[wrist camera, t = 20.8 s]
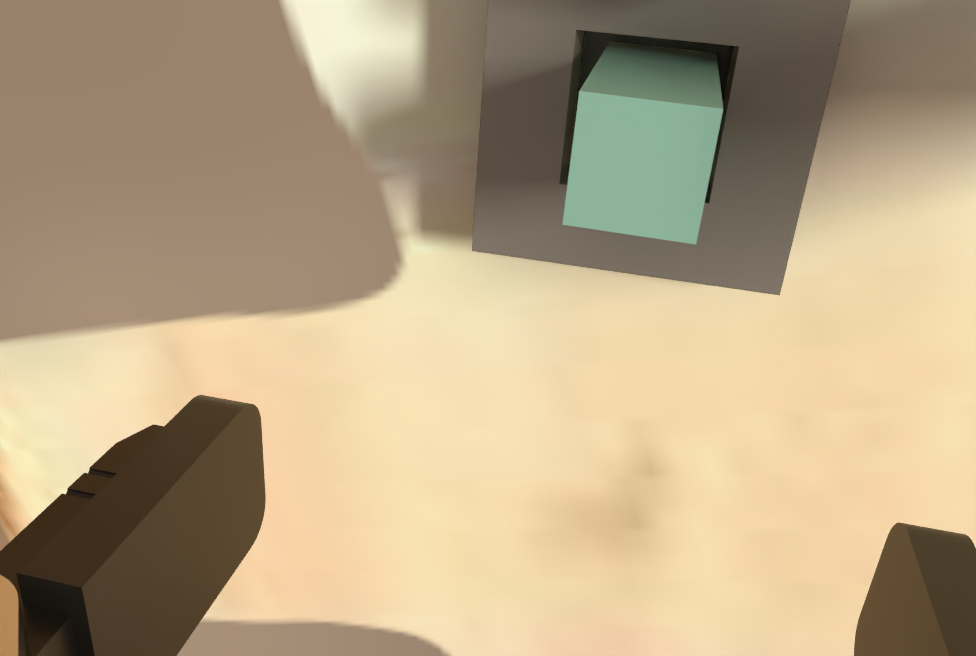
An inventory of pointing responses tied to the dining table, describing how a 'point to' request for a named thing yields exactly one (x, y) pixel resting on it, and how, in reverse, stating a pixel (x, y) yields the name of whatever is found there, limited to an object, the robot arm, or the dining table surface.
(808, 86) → the socket block
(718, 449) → the dining table surface
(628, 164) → the teal flat-sided block
